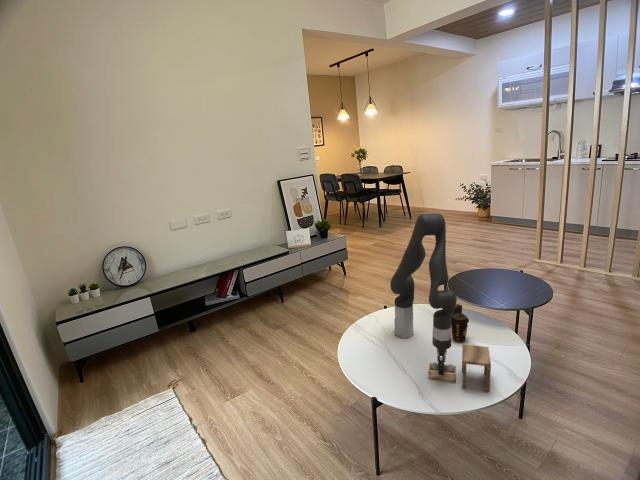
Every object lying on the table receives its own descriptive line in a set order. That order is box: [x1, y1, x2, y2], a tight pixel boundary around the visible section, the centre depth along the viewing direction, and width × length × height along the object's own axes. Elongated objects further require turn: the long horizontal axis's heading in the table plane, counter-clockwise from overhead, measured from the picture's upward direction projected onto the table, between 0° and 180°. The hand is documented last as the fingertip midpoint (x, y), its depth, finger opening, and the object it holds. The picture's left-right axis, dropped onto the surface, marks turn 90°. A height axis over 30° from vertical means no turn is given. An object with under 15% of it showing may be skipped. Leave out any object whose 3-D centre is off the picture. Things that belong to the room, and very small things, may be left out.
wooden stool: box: [461, 343, 492, 393], centre depth 146 cm, size 10×12×13 cm
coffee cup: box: [451, 312, 470, 344], centre depth 176 cm, size 9×8×13 cm
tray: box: [428, 361, 457, 384], centre depth 152 cm, size 11×6×6 cm, turn 70°
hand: (441, 368), depth 152 cm, fingers open, 8 cm apart
